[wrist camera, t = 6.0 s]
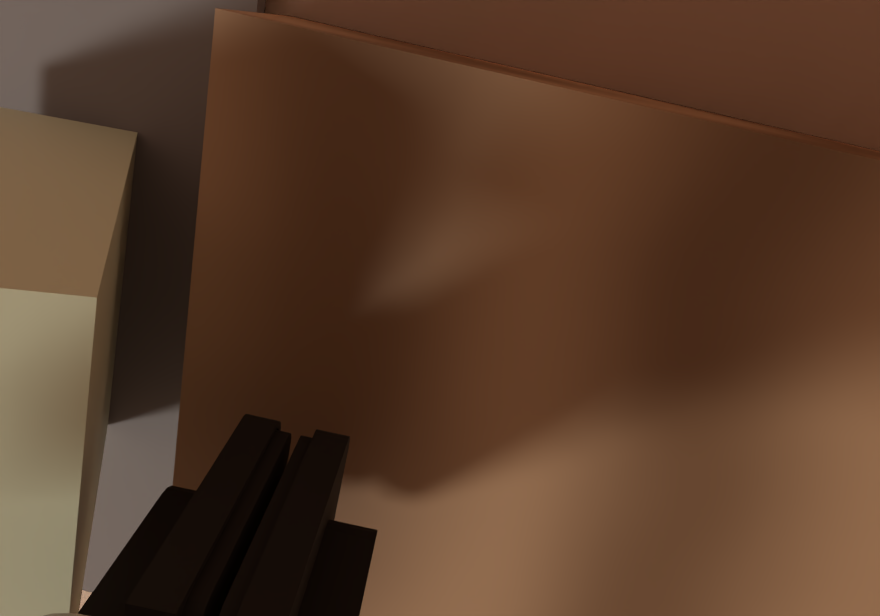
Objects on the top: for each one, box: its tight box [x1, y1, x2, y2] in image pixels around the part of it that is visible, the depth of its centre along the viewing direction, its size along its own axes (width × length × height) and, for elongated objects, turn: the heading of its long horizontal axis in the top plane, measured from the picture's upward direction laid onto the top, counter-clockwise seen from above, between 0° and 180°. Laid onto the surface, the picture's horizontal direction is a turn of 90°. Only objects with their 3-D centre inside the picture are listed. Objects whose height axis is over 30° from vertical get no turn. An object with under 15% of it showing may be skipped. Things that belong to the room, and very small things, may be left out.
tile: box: [0, 107, 137, 616], centre depth 12 cm, size 8×7×3 cm
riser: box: [173, 8, 880, 616], centre depth 15 cm, size 18×14×4 cm
